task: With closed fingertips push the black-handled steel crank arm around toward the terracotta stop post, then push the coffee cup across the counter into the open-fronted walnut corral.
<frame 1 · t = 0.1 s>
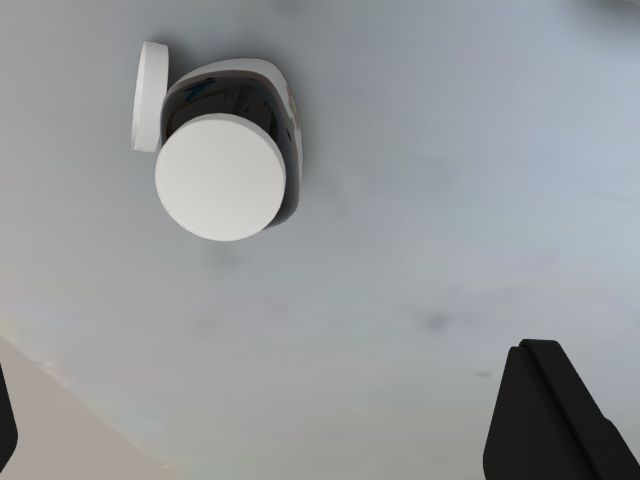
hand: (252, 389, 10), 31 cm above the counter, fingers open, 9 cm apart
spread jar: (220, 116, 40), on the counter
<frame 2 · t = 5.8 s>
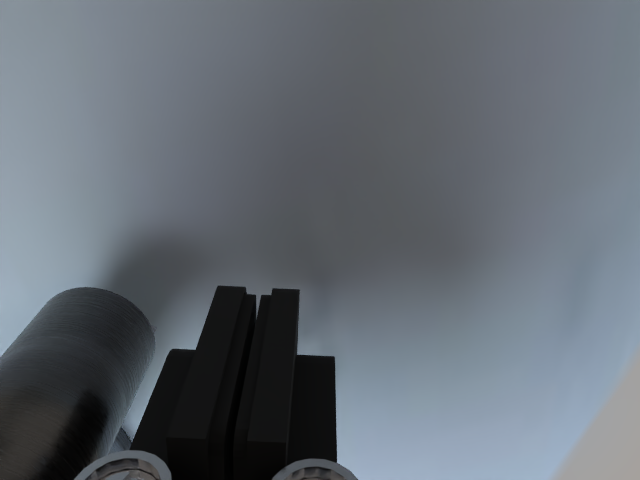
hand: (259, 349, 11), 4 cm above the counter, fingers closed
crank base: (45, 457, 18), on the counter
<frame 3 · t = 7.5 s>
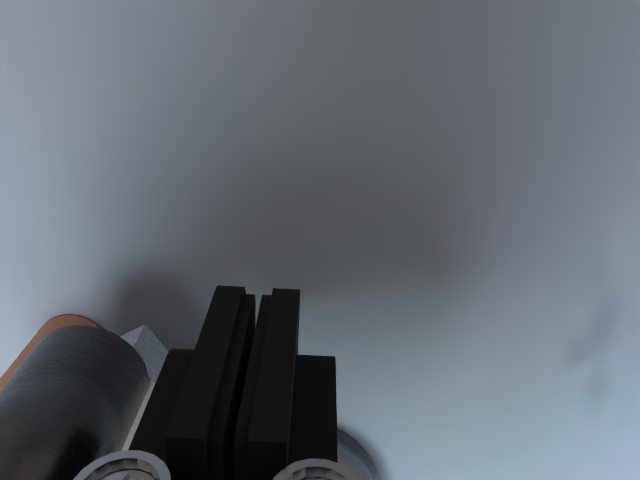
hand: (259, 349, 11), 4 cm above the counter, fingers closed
stop post: (75, 344, 16), on the counter
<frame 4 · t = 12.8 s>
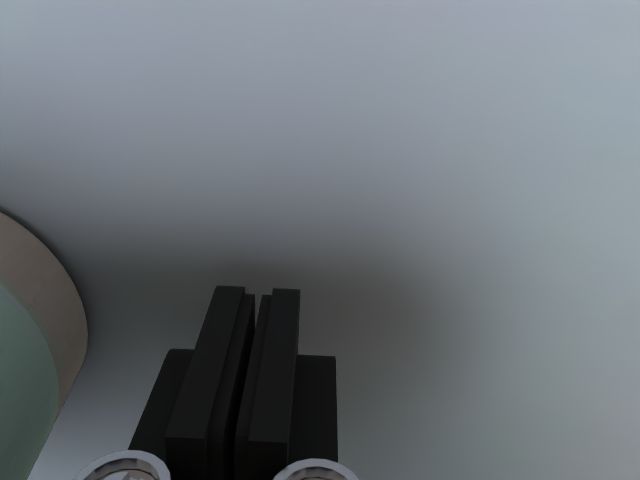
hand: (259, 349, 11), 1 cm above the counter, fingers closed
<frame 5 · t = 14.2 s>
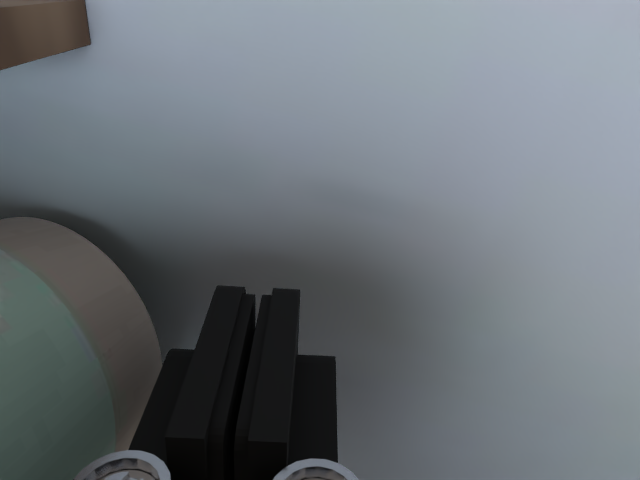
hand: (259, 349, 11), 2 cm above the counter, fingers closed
coffee cup: (61, 334, 13), point 1 cm above the counter, touching gripper
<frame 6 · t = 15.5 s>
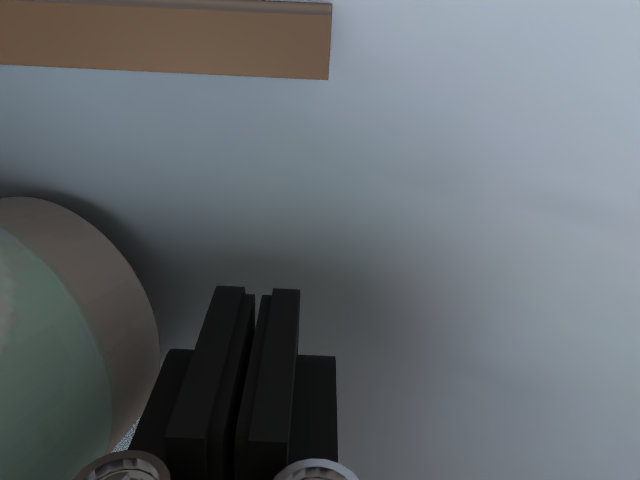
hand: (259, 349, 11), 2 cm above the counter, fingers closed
coffee cup: (57, 318, 13), point 1 cm above the counter, touching gripper
tray: (48, 317, 14), on the counter
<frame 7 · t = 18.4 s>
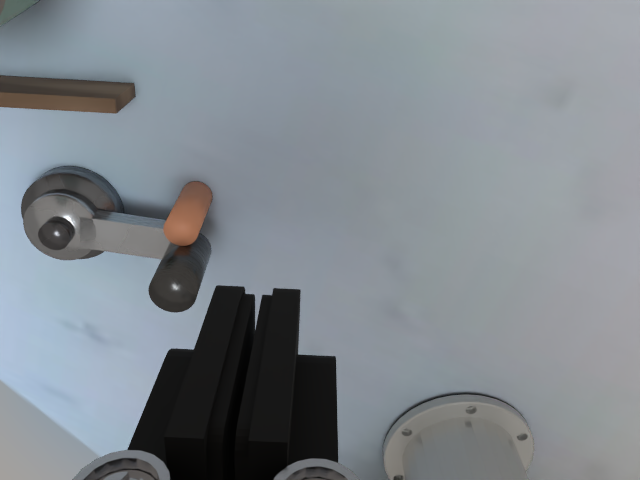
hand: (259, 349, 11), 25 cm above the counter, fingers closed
crank base: (78, 208, 37), on the counter
stop post: (197, 195, 37), on the counter
crank: (108, 253, 33), point 5 cm above the counter, hinge at 63.6°, touching stop post
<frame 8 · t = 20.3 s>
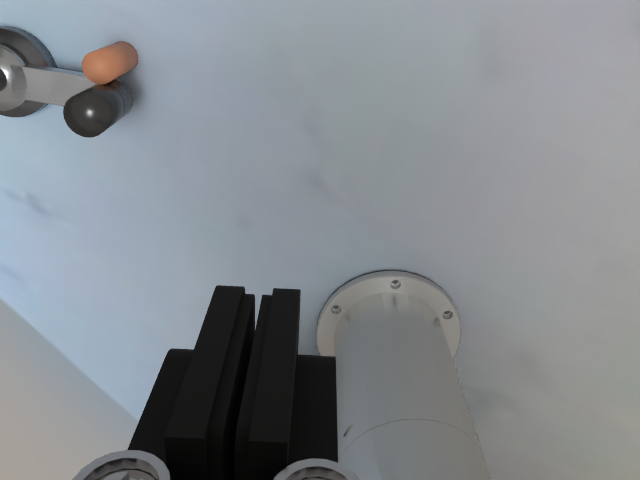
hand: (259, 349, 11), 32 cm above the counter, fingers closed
crank base: (15, 70, 40), on the counter
stop post: (123, 56, 40), on the counter
crank: (34, 93, 36), point 5 cm above the counter, hinge at 63.6°, touching stop post
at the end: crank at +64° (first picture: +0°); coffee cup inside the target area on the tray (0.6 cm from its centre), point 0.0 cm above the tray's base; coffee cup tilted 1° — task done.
